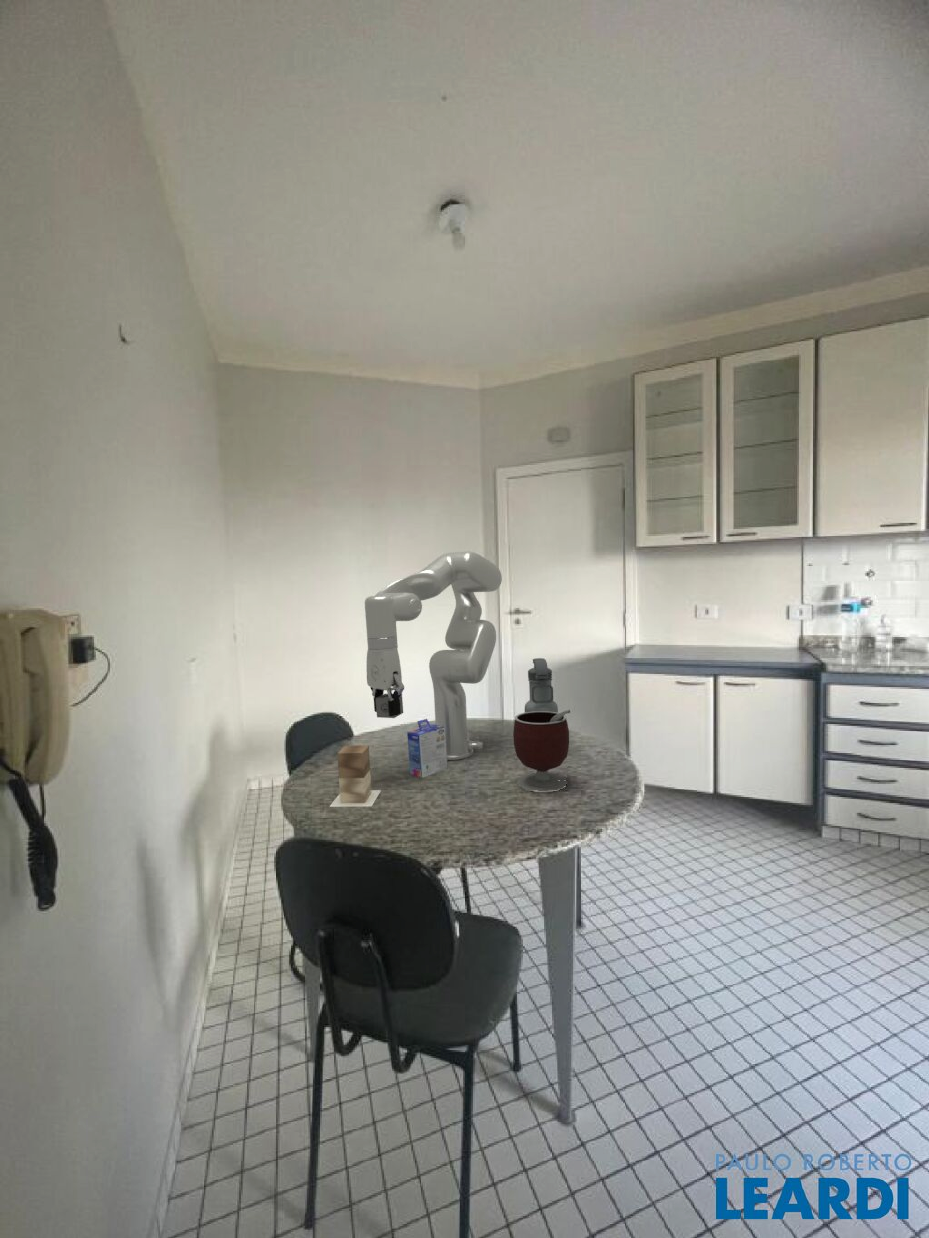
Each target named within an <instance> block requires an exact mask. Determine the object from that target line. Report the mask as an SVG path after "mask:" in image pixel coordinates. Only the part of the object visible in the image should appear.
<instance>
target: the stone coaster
mask: <svg viewBox="0 0 929 1238" xmlns="http://www.w3.org/2000/svg"><path fill="white" fill-rule="evenodd" d="M381 791H382V790H381V789H371V795H370V796H369V798H368V799H367V801H366V803H340V793H339V794H338V795H337V796H336V798H335V799H333V802H332V803H331V804H330V805H329V807H330V808H348V807H349V808H351V807H359V808H360V807H372V806H374V803H375V802H376V799H377V798H378V797H379V795H380V793H381Z"/></svg>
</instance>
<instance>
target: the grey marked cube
mask: <svg viewBox="0 0 929 1238" xmlns="http://www.w3.org/2000/svg"><path fill="white" fill-rule="evenodd" d="M388 701H389V696H388V693H383V695H381V696H379V697H377V698H376V711H377V712H376V718H381V719H383V718H384V719H395V718H397V717H398V716H401V715H402V714H404V705H403V704H404V703H403V693H402V694H401V699H400V712H401V713H400V714H399V715H395V716H389V710H388Z"/></svg>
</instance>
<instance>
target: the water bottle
mask: <svg viewBox="0 0 929 1238" xmlns="http://www.w3.org/2000/svg"><path fill="white" fill-rule="evenodd" d="M532 664H533V668H530V669H528V670H527V678H528V679H527V681H528V682H529V683H528V684H529V686H528V688H529V689H528V690H529V700H528V701H527V702H526V703H524V713H526V712H534V711H549V712H557V713H559V707H558V703H557V702H556V701H554V687H553V685H552V681H553V670H552V669H551V668H549V667H548V662H547V660H546V659H545V658H544V657H543V658H541V657H540V658H539V657H538V658H532Z"/></svg>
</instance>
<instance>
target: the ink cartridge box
mask: <svg viewBox="0 0 929 1238" xmlns="http://www.w3.org/2000/svg"><path fill="white" fill-rule="evenodd" d="M422 723H423V725H422ZM424 723H426V724H424ZM417 724H418V729H415V730H414V729H413V730H412V731H407V746H408V758H409V773H410V775H413V776H416V777H419V778H426V777H428V776H430V775H433V774H436V773H438V772H441V771H444V770H447V769H448V760H447V754H446V738H445V727H443V726H438V725H435V724H430V723H429V719H427V718H424V719H421V720H418V721H417Z"/></svg>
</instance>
